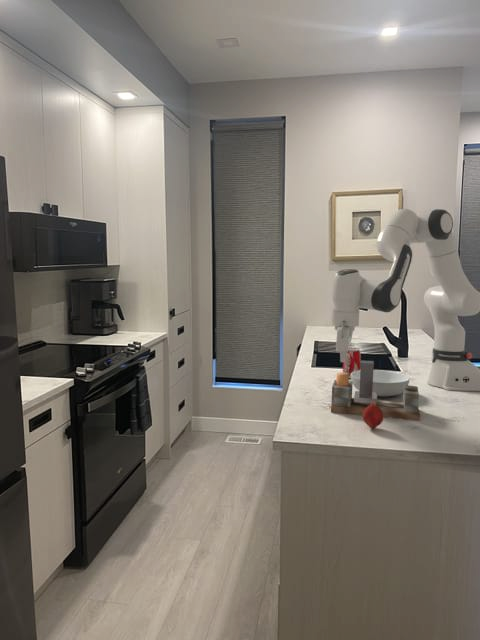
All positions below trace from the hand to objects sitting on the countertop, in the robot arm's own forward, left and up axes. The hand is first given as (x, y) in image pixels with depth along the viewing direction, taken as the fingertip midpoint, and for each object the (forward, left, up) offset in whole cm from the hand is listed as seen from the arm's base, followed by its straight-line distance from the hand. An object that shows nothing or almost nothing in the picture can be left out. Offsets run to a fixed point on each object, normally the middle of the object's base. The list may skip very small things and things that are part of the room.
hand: (343, 361), depth 164 cm
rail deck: (-11, 0, -16) cm, 19 cm away
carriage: (-8, 0, -12) cm, 14 cm away
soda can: (-1, -44, -16) cm, 47 cm away
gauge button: (0, 0, -12) cm, 12 cm away
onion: (-10, +18, -16) cm, 26 cm away
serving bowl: (-12, -22, -16) cm, 30 cm away
